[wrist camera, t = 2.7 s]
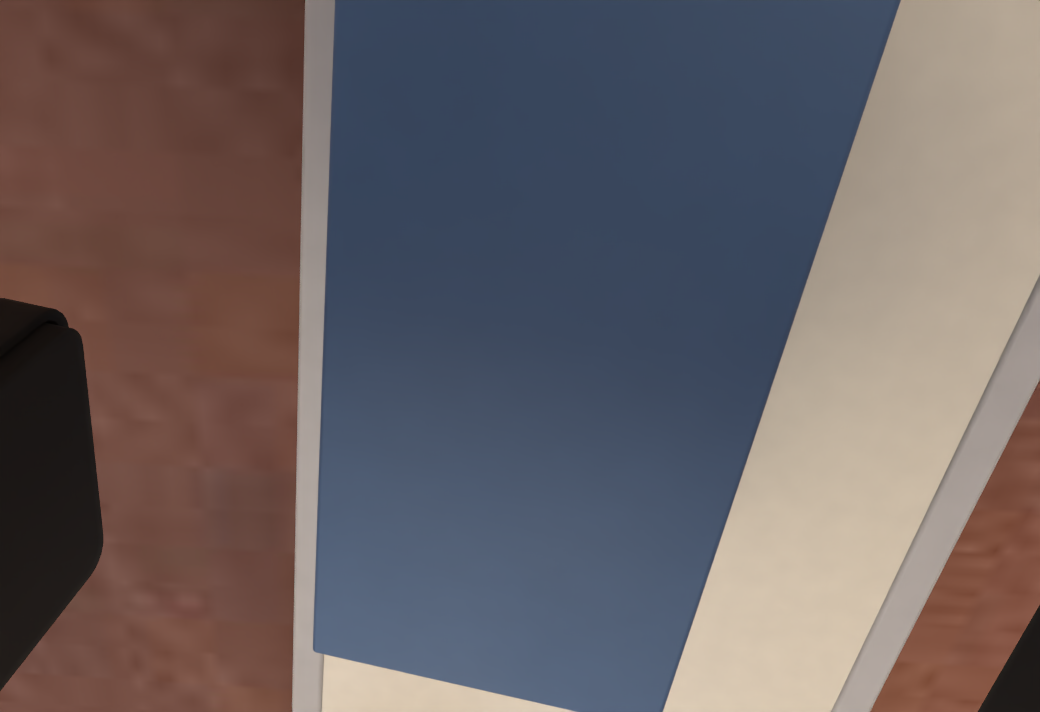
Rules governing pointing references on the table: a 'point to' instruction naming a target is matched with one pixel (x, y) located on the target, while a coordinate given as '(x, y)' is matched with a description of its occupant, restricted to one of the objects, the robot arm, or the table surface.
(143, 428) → the table surface
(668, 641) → the eraser
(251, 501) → the table surface
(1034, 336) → the whiteboard
